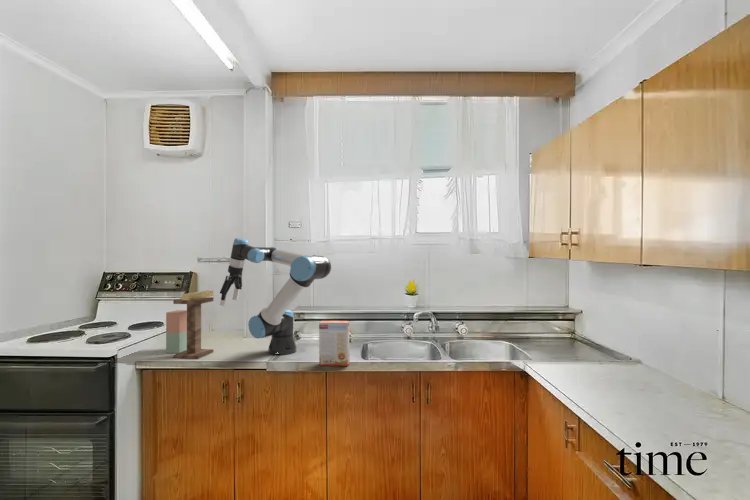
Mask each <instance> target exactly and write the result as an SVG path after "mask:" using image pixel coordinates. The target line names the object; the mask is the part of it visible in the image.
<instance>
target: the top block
mask: <svg viewBox="0 0 750 500" xmlns="http://www.w3.org/2000/svg"><path fill="white" fill-rule="evenodd" d="M165 313H166V314H165V317H166V318H165V334H166V333H181V332H185V331H187V309H177V310H176V309H175V310H172V311H168V312H165Z"/></svg>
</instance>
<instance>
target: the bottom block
mask: <svg viewBox="0 0 750 500" xmlns="http://www.w3.org/2000/svg"><path fill="white" fill-rule="evenodd" d="M165 340H166V341H165V344H166V345H165V349H166V350H165V353H166V354H177V353H180V352H183V351H185V350H187V331H185V332H181V333H166V332H165Z"/></svg>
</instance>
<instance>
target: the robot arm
mask: <svg viewBox="0 0 750 500" xmlns="http://www.w3.org/2000/svg"><path fill="white" fill-rule="evenodd" d="M245 260H247V261H249V262H251V263H254V264H260V263H262V262H272V263H277V264H282V265H284V266H287V267H290V269H289V278H288V279H287V281H286V282H285V284H283V286H282V287H281V288H280V290H279V291H278V292H277V294H276V295H275V297H274V298H273V299H272V301H271V302H270V303H269V304H268V306H267V307H263V308H262V309H261V310H260V311H259V313H258V314H257V315H252V316H251V317H250V318H249V320H248V331H249V333H250V335H251V336H252V337H253V338H254V339H264V338H268V337H271V339H270V342H269V346H268V351H267V352H268V354H270V355H274V354H275V353H277V352H278V353H279V354H280V355H279V356H282V355H290V354H294V353H296V352H297V344H296V342H295V338H294V312H293V310H290V309H289V308H290V307H291V305H292V304H293V303H294V301H295V300H296V299H297V298H298V296H299V295H300V294H301V293H302V291H303V290H304V289H307V288H309V287H310V286H311V285H312V283H313V282H314V280H320V279H321V280H322V279H324V278H326V277H327V276H328V275H330V273H331V270H332V264H331V261H330V260H329V259H328V258H327V257H326V256H324V255H316V254H314V255H306V254H301V253H298V252H297V253H296V252H292V251H290V250H289V251H288V250H282V249H279V248H278V247H273V246H272V247H271V246H269V247H261V246H260V247H259V246H257V247H256V246H252V245H249V240H248V239H246V238H241V237H236V238H234V239H233V243H232V248H231V253H230V258H229V265H228V269H227V272H228V273H229V275H226V276H225V279H224V282H223V284H222V286H221V288H220V291H219V294H221V296H220V302H219V306H221V307H226V302H227V298H228V292H229V290H230V289H231V287H232V285H233V284H234V290H233V294H232V299H231V300H233V301H238V298H239V294H240V290H242V287H243V277H242V276H243V270H244V268H243V267H244V265H245Z"/></svg>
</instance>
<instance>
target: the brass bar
mask: <svg viewBox="0 0 750 500" xmlns="http://www.w3.org/2000/svg"><path fill="white" fill-rule="evenodd" d="M204 297H214V290H212V289H211V290H201V291H194V292H188V293H183V294H182V295H181V299H182V300H194V299H199V298H204Z"/></svg>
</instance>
